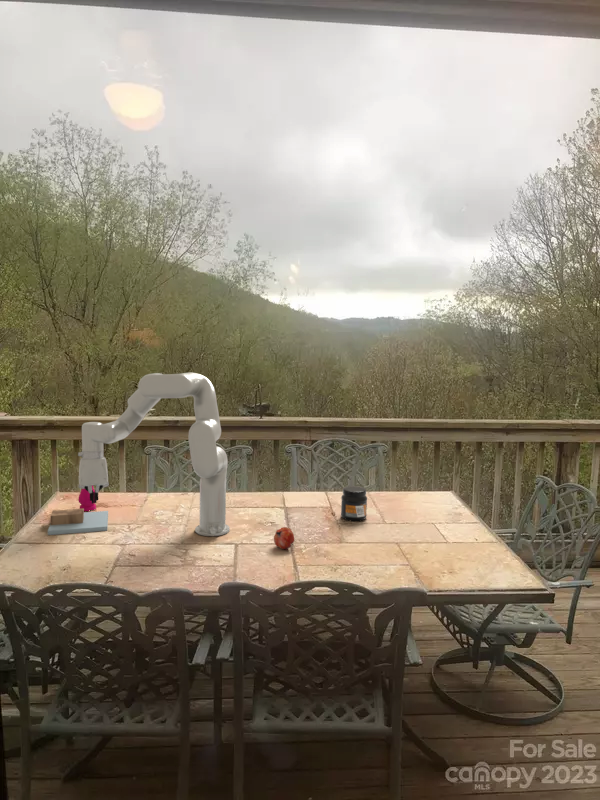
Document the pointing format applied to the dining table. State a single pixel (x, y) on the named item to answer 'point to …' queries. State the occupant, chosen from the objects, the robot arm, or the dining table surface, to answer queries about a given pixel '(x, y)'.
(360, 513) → the supplement container
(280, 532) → the pomegranate
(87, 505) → the pepper mill
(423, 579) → the dining table surface
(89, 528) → the board
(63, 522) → the walnut slab
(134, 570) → the dining table surface
